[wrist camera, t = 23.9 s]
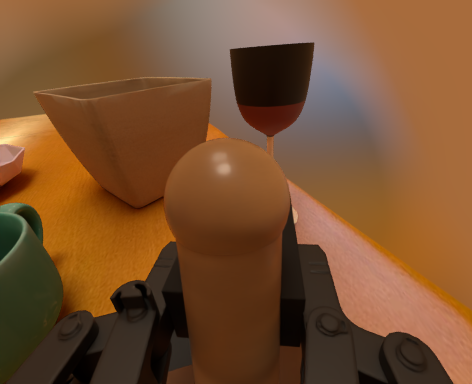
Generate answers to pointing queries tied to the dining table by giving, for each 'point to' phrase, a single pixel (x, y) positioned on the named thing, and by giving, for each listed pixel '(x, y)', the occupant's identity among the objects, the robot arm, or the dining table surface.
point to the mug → (24, 287)
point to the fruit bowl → (10, 162)
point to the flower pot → (131, 129)
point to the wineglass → (272, 86)
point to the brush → (231, 263)
